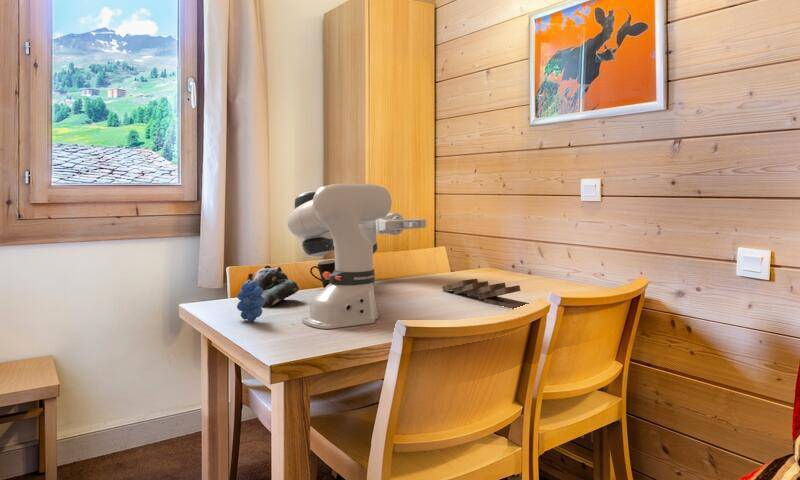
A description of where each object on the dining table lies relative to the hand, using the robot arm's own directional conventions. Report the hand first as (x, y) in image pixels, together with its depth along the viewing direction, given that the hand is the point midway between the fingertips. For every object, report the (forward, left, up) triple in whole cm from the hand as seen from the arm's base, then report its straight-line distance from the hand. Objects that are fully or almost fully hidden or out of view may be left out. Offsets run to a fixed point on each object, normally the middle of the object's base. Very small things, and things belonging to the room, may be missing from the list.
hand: (415, 224), depth 213 cm
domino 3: (+2, -30, -22) cm, 37 cm away
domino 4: (+1, -36, -22) cm, 42 cm away
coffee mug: (-29, +14, -23) cm, 40 cm away
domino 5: (+1, -38, -23) cm, 44 cm away
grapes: (-72, -15, -24) cm, 77 cm away
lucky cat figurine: (-57, +4, -24) cm, 62 cm away
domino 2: (+3, -23, -22) cm, 32 cm away
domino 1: (+3, -16, -22) cm, 28 cm away
